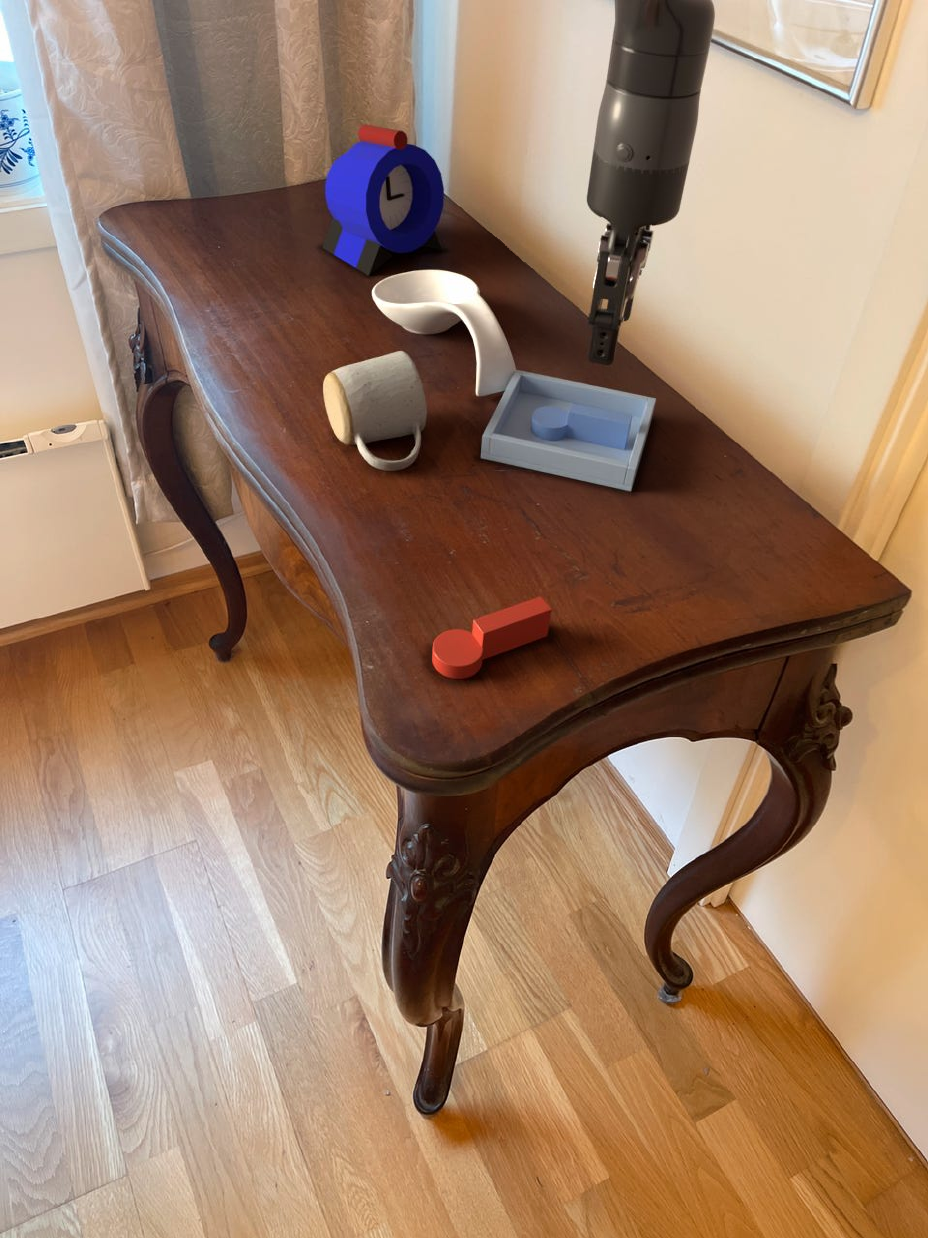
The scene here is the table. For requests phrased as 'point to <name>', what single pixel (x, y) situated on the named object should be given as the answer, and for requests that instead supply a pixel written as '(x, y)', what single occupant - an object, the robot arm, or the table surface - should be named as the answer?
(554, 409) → the blue spoon
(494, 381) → the spoon rest
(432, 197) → the alarm clock
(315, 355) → the table surface
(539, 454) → the blue tray
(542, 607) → the red disc with bar
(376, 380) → the ceramic mug
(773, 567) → the table surface
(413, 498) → the table surface
